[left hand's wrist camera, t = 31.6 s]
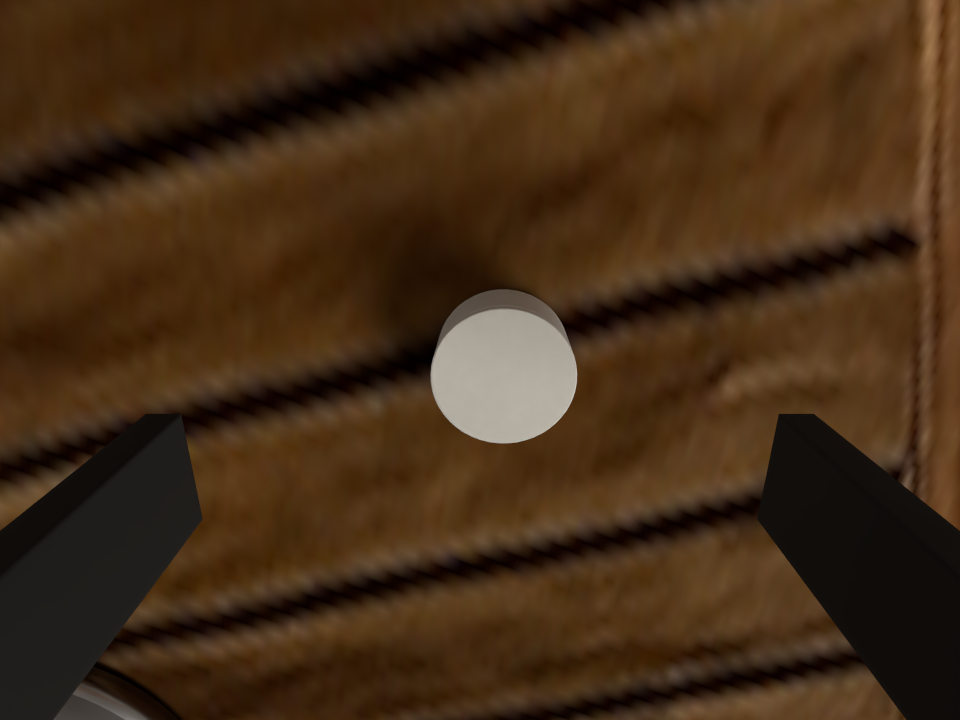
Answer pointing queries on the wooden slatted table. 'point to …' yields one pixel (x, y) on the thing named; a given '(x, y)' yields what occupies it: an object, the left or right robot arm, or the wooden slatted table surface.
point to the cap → (503, 367)
